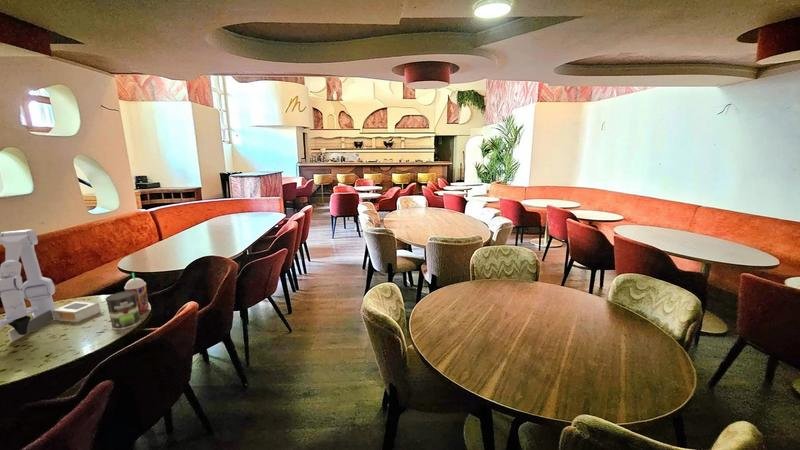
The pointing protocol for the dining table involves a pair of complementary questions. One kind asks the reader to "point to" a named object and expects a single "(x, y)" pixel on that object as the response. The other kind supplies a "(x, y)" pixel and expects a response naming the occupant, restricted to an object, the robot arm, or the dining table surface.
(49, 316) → the side door
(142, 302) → the smoothie
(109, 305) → the coffee can
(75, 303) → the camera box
